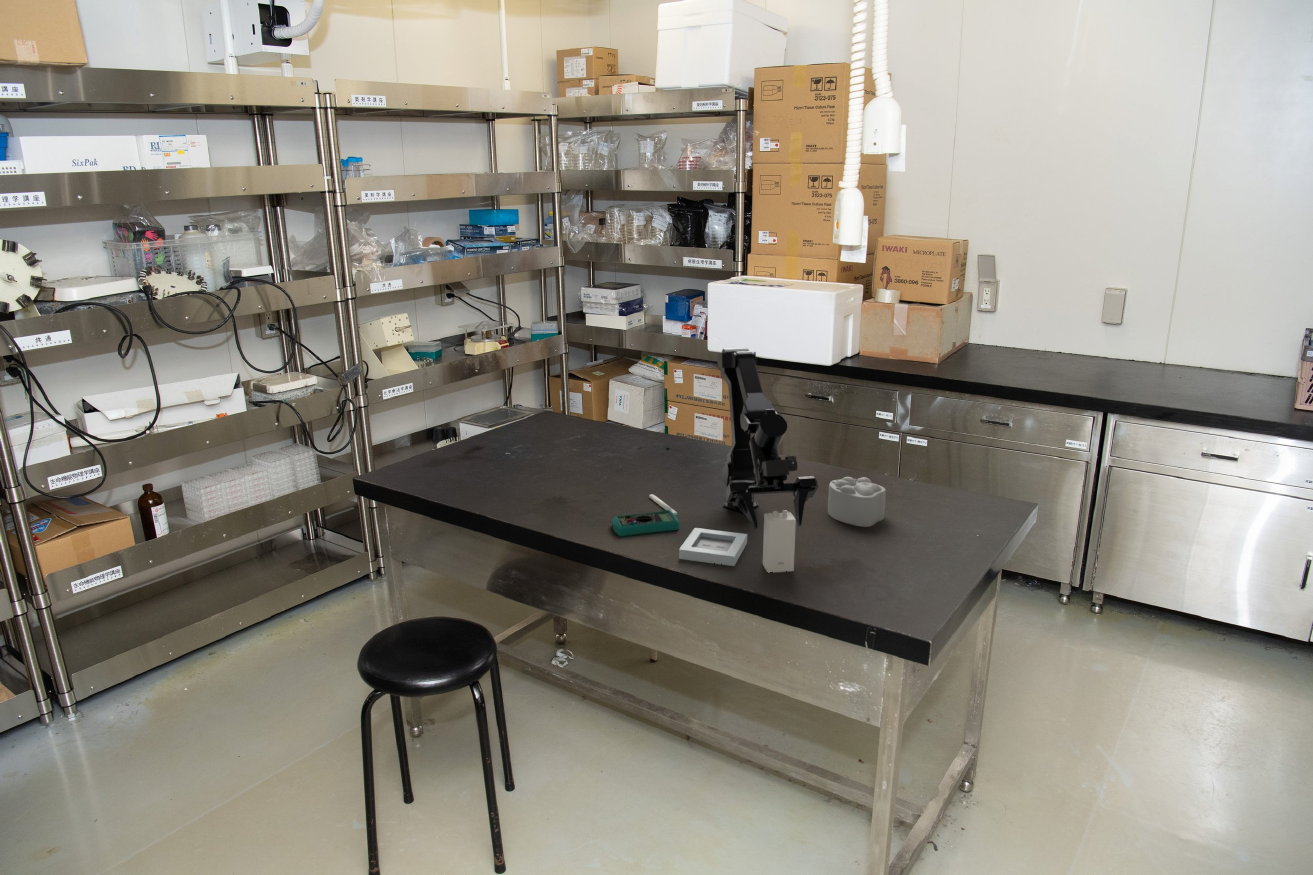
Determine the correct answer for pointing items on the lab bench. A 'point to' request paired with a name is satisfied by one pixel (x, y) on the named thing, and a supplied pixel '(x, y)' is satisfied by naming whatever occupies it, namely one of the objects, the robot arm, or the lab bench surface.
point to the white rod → (662, 503)
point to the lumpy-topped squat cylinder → (856, 501)
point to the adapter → (779, 541)
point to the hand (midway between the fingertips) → (778, 527)
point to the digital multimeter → (645, 523)
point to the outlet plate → (713, 546)
